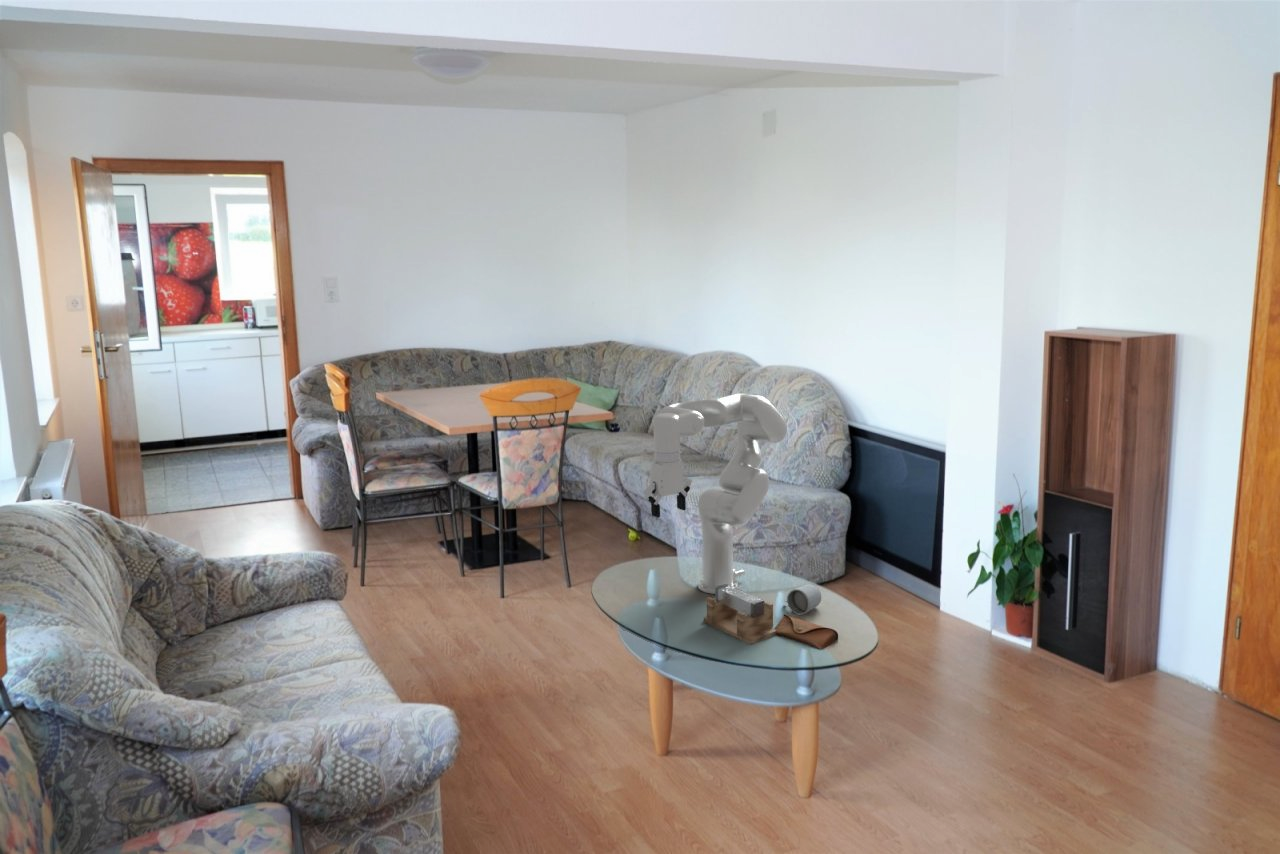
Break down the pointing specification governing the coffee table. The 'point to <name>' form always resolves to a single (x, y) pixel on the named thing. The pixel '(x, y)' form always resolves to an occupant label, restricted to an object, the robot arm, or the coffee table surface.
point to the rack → (740, 621)
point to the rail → (739, 600)
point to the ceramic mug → (803, 599)
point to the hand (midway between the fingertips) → (668, 512)
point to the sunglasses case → (806, 632)
